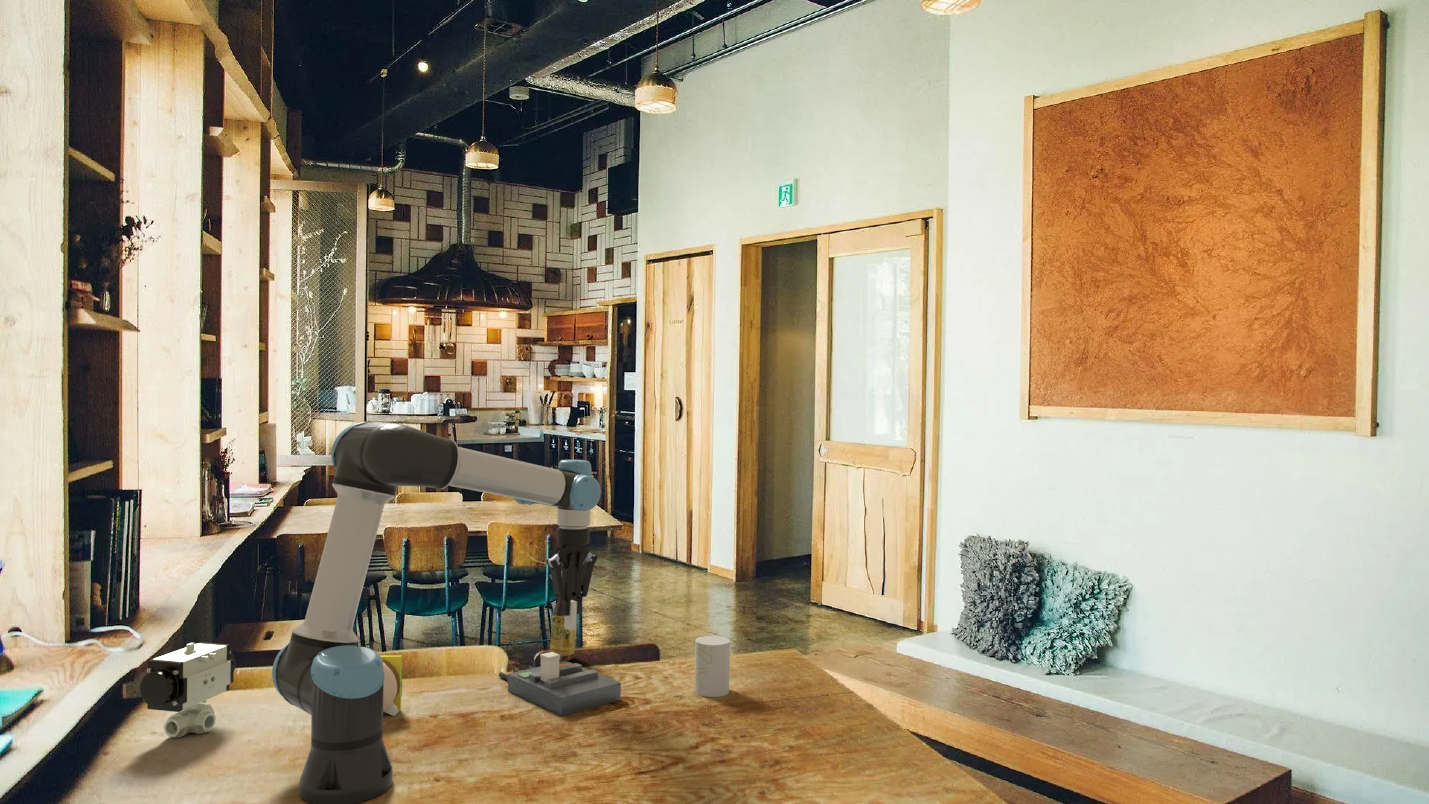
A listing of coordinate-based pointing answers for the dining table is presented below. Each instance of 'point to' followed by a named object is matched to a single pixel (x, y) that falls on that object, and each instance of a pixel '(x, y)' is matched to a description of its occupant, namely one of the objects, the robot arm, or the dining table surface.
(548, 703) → the grey slider base
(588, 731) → the dining table surface
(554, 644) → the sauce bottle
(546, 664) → the lever
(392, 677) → the yellow block with disc
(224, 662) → the ball valve
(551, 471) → the robot arm
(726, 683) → the white cylinder
